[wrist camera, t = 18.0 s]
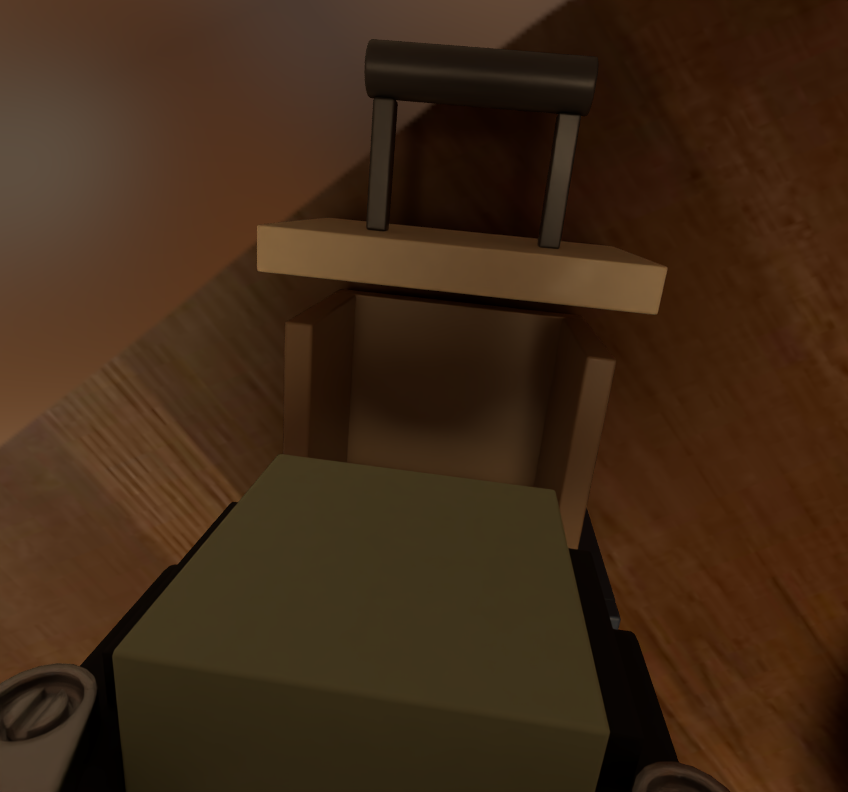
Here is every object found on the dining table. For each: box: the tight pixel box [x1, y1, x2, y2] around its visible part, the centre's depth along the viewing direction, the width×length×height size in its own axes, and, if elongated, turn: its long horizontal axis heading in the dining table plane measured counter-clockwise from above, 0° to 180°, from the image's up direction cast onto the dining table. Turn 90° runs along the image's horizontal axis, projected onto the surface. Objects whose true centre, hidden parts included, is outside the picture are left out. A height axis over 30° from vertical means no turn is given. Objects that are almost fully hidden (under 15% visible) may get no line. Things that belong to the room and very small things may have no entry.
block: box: [112, 454, 610, 792], centre depth 9 cm, size 5×5×5 cm
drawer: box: [257, 39, 667, 549], centre depth 19 cm, size 17×10×7 cm, turn 175°
